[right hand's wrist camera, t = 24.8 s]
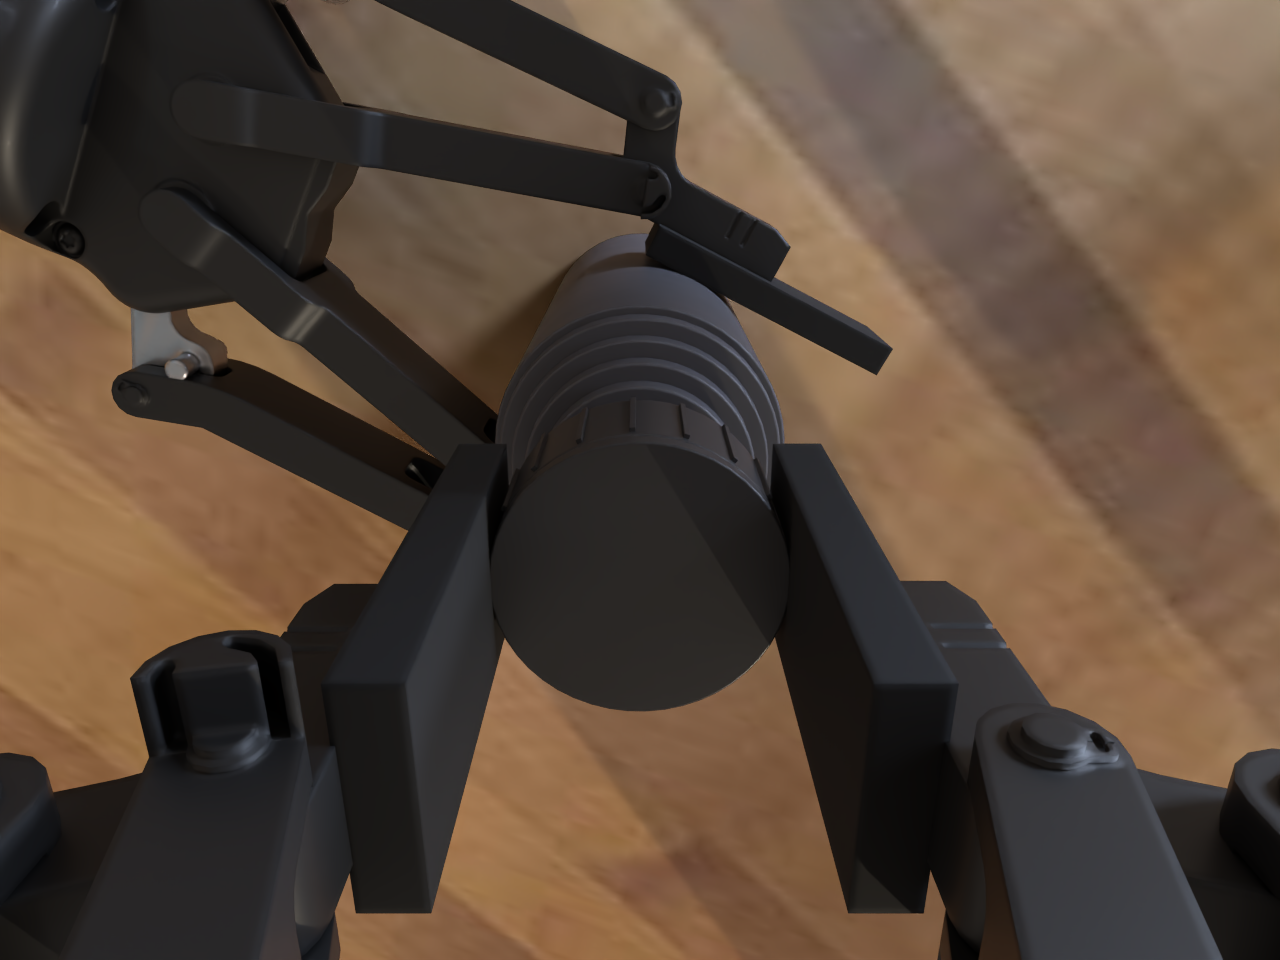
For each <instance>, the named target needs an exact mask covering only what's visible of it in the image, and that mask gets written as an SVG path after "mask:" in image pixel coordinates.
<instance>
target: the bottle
mask: <svg viewBox="0 0 1280 960" xmlns="http://www.w3.org/2000/svg"><path fill="white" fill-rule="evenodd" d="M648 235H649V234H629V235H622V236H618V237H615V238H611V239H608V240H606V241H604V242H602V243H599V244H598V245H596V246H594V247H593V248H591V249H590V250H588V251H587V252H586V253H584V254H583V255H582V256H581V257H580V258H579V259H578V260H577V261H576V262H575V263H574V264H573V265H572V266H571V268H570V269H569V271H568V272H567V273H566V275H565V276H564V278H563V280H562V282H561V284H560V286H559V288H558V290H557V292H556V294H555V296H554V298H553V300H552V302H551V303H550V305H549V307H548V309H547V311H546V313H545V315H544V317H543V319H542V321H541V323H540V325H539V327H538V329H537V331H536V332H535V334H534V336H533V338H532V340H531V342H530V344H529V346H528V348H527V350H526V352H525V354H524V356H523V358H522V360H521V362H520V363H519V365H518V367H517V369H516V371H515V373H514V375H513V377H512V379H511V381H510V383H509V385H508V387H507V389H506V391H505V394H504V397H503V399H502V402H501V405H500V409H499V414H498V419H497V424H496V437H495V444H507V458H508V475H509V485H510V482H511V480H512V477H513V474H514V472H515V470H516V468H517V469H520V468H521V467H522V465H523V463H524V462H525V460H526V458H527V457H528V455H529V454H530V453H531V451H532V450H533V449H534V448H535V446H536V445H537V444H538V443H539V442H540V438H541V435H542V434H543V433H544V432H546V433H547V434H548V433H549V432H550V431H552V430H553V429H554V428H556V427H557V426H559V425H560V424H561V423H563V422H564V421H566V420H568V419H570V418H571V417H573V416H575V415H577V414H579V413H581V411H582V408H585V407H587V408H588V410H589V409H591V408H594V407H597V406H600V405H604V404H609V403H613V402H619V401H628V400H630V397H636V400H653V401H660V402H667V403H672V404H675V405H679V404H680V403H683V404H685V406H686V408H689V409H691V410H693V411H696V412H698V413H701V414H703V415H705V416H707V417H708V418H710V419H712V420H713V421H715V422H717V423H718V424H720V425H721V426H723V425H724V424H725V425H727V426H728V427H729V431H730V433H731V434H733V435H734V436H735V437H736V438H737V439H738V441H739V442H740V443H741V444H742V445H743V446H744V447H745V448H746V449H747V451H748V452H749V453H750V455H751V456H752V458H753V459H755V458H758V460H759V462H760V464H761V467H762V470H763V473H764V475H765V478H766V481H767V484H768V486H769V489H770V485H771V467H772V450H773V444H784V428H783V419H782V415H781V411H780V406H779V403H778V400H777V397H776V395H775V392H774V390H773V387H772V385H771V383H770V381H769V379H768V377H767V375H766V373H765V371H764V369H763V367H762V365H761V364H760V362H759V360H758V358H757V356H756V354H755V352H754V350H753V348H752V346H751V344H750V342H749V340H748V338H747V336H746V334H745V333H744V331H743V329H742V327H741V325H740V323H739V321H738V319H737V317H736V315H735V313H734V311H733V309H732V307H731V305H730V303H729V302H728V300H727V298H726V297H725V296H723V295H721V294H719V293H717V292H716V291H714V290H712V289H710V288H708V287H706V286H704V285H702V284H700V283H698V282H696V281H695V280H693V279H691V278H689V277H687V276H685V275H683V274H681V273H679V272H677V271H675V270H673V269H671V268H669V267H667V266H666V265H664V264H662V263H660V262H658V261H656V260H654V259H652V258H650V257H648V256H646V253H645V241H646V239H647V237H648Z"/></svg>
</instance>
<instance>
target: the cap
mask: <svg viewBox="0 0 1280 960" xmlns="http://www.w3.org/2000/svg"><path fill="white" fill-rule="evenodd" d="M501 510H502V511H504V512H503V515H502V518H501V521H500V523H499V526H498V529H497V532H496V535H495V537H494V541H493V545H492V549H491V553H490V578H491V593H492V606H493V611H494V614H495V617H496V619H497V622H498V625H499V627H500V629H501V631H502V633H503V635H504V637H505V638H506V640H507V642H508V643H509V645H510V646H511V648H512V649H513V650H514V652H515V653H516V655H517V656H518V657H519V658H520V659H521V660H522V661H523V662H524V664H525V665H526V666H527V667H528V668H529V669H530V670H531V671H533V672H534V673H535V674H536V675H537V676H539V677H540V678H541V679H542V680H543V681H545V682H546V683H548V684H550V685H551V686H553V687H554V688H556V689H557V690H559V691H561V692H563V693H565V694H567V695H569V696H571V697H573V698H575V699H578V700H581V701H584V702H586V703H589V704H592V705H596V706H600V707H604V708H609V709H616V710H624V711H655V710H665V709H670V708H675V707H680V706H684V705H687V704H690V703H693V702H696V701H699V700H702V699H704V698H706V697H708V696H711V695H713V694H715V693H717V692H719V691H720V690H722V689H724V688H725V687H727V686H729V685H730V684H732V683H733V682H735V681H736V680H737V679H738V678H740V677H741V676H742V675H743V674H745V673H746V672H747V671H748V670H749V669H750V668H751V667H752V666H753V665H754V664H755V663H756V662H757V661H758V660H759V659H760V658H761V656H762V655H763V654H764V652H765V651H766V650H767V648H768V647H769V646H770V644H771V643H772V641H773V639H774V637H775V636H776V634H777V632H778V630H779V628H780V626H781V623H782V621H783V618H784V616H785V613H786V609H787V600H788V586H789V571H790V556H789V551H788V546H787V542H786V538H785V535H784V532H783V529H782V527H781V524H780V521H779V518H778V515H777V513H776V510H775V507H774V504H773V501H772V495H771V492H770V489H769V486H768V484H767V481H766V478H765V475H764V473H763V470H762V467H761V464H760V462H759V460H758V458H755V459H753V458H752V456H751V455H750V453H749V452H748V451H747V449H746V448H745V447H744V446H743V445H742V444H741V443H740V442H739V441H738V439H737V438H736V437H735V436H734V435H733V434H731V433H730V431H729V427H728V426H727V425H725V424H724V425H723V426H721V425H720V424H718V423H717V422H715V421H713V420H712V419H710V418H708V417H707V416H705V415H703V414H701V413H698V412H696V411H693V410H691V409H689V408H686V406H685V404H683V403H680V404H679V405H675V404H672V403H667V402H660V401H653V400H636V397H630V400H628V401H619V402H613V403H609V404H604V405H600V406H597V407H594V408H591V409H589V410H588V408H587V407H585V408H582V411H581V413H579V414H577V415H575V416H573V417H571V418H570V419H568V420H566V421H564V422H563V423H561V424H560V425H559V426H557V427H556V428H554V429H553V430H552V431H550V432H549V433H548V434H547V433H546V432H544V433H543V434H542V435H541V438H540V442H539V443H538V444H537V445H536V446H535V448H534V449H533V450H532V451H531V453H530V454H529V455H528V457H527V458H526V460H525V462H524V463H523V465H522V467H521V468H520V469H517V468H516V470H515V472H514V474H513V477H512V480H511V482H510V485H509V488H508V491H507V493H506V496H505V499H504V502H503V504H502V507H501Z"/></svg>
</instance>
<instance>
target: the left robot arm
mask: <svg viewBox="0 0 1280 960" xmlns="http://www.w3.org/2000/svg"><path fill="white" fill-rule="evenodd" d="M287 1H288V0H0V229H1V230H3V231H5V232H7V233H9V234H11V235H14V236H16V237H18V238H20V239H22V240H24V241H27V242H29V243H31V244H34V245H36V246H39V247H41V248H44V249H46V250H49V251H51V252H54V253H57V254H59V255H62V256H65V257H67V258H70V259H72V260H74V261H76V262H78V263H80V264H81V265H83V266H84V267H85V268H87V269H88V270H89V271H91V272H92V273H93V274H94V275H95V276H96V277H97V278H98V279H99V280H100V281H101V282H102V283H103V284H104V285H105V286H106V288H107V289H108V290H109V291H110V292H111V293H112V295H113V296H115V297H116V298H117V299H118V300H119V301H121V302H122V303H124V304H125V305H127V306H129V307H131V330H132V364H133V366H132V369H131V370H129V371H127V372H125V373H123V374H121V375H118V376H117V378H116V379H115V380H114V382H113V385H112V390H111V391H112V395H113V399H114V401H115V402H116V404H117V405H118V407H119V408H120V409H122V410H123V411H124V412H126V413H127V414H129V415H132V416H135V417H140V418H146V419H152V420H158V421H165V422H171V423H177V424H183V425H189V426H195V427H201V428H204V429H206V430H208V431H210V432H212V433H214V434H216V435H218V436H220V437H222V438H224V439H226V440H228V441H230V442H232V443H234V444H236V445H238V446H240V447H242V448H244V449H246V450H248V451H250V452H252V453H254V454H256V455H258V456H260V457H262V458H264V459H266V460H268V461H270V462H272V463H274V464H276V465H278V466H280V467H282V468H284V469H286V470H288V471H290V472H292V473H294V474H296V475H298V476H300V477H302V478H304V479H306V480H308V481H310V482H312V483H314V484H316V485H318V486H320V487H322V488H324V489H326V490H328V491H330V492H332V493H334V494H336V495H338V496H340V497H342V498H344V499H346V500H348V501H350V502H352V503H354V504H356V505H358V506H360V507H362V508H364V509H366V510H368V511H370V512H372V513H374V514H376V515H378V516H380V517H382V518H384V519H386V520H388V521H390V522H392V523H394V524H396V525H398V526H400V527H402V528H404V529H406V530H408V531H409V529H410V528H411V526H412V524H413V522H414V521H415V519H416V517H417V515H418V514H419V512H420V510H421V508H422V507H423V505H424V503H425V501H426V500H427V498H428V496H429V495H430V493H431V491H432V489H433V488H434V486H435V484H436V482H437V481H438V479H439V477H440V475H441V474H442V472H443V470H444V468H445V467H446V465H447V463H448V462H449V460H450V458H451V456H452V455H453V453H454V451H455V449H456V448H457V446H458V444H495V437H496V424H497V419H498V415H497V414H496V413H495V412H494V411H493V410H491V409H490V408H489V407H488V406H487V405H486V404H485V403H483V402H482V401H481V400H480V399H479V398H478V397H477V396H475V395H474V394H473V393H472V392H471V391H470V390H468V389H467V388H466V387H465V386H464V385H463V384H462V383H460V382H459V381H458V380H457V379H456V378H455V377H454V376H452V375H451V374H450V373H449V372H448V371H447V370H445V369H444V368H443V367H442V366H441V365H440V364H439V363H437V362H436V361H435V360H434V359H433V358H432V357H431V356H429V355H428V354H427V353H426V352H425V351H424V350H423V349H421V348H420V347H419V346H418V345H417V344H416V343H414V342H413V341H412V340H411V339H410V338H409V337H408V336H406V335H405V334H404V333H403V332H402V331H401V330H400V329H398V328H397V327H396V326H395V325H394V324H393V323H391V322H390V321H389V320H388V319H387V318H386V317H385V316H383V315H382V314H381V313H380V312H379V311H378V310H377V309H375V308H374V307H373V306H372V305H371V304H370V303H369V302H367V301H366V300H365V299H364V298H363V297H362V296H361V295H360V294H358V292H357V291H356V290H355V287H354V285H353V283H352V281H351V280H350V279H349V278H348V277H347V276H346V275H345V274H344V273H343V272H342V271H341V270H340V269H338V268H337V267H336V266H335V265H334V264H333V263H332V262H330V261H329V260H328V259H327V258H326V257H325V256H326V254H327V251H328V248H329V246H330V243H331V240H332V228H333V216H334V209H335V207H336V205H337V204H338V203H339V201H340V200H341V199H342V197H343V196H344V195H345V193H346V192H347V191H348V189H349V188H350V187H351V185H352V184H353V181H354V178H355V176H356V173H357V170H358V167H359V166H361V167H370V168H379V169H386V170H391V171H397V172H402V173H408V174H413V175H419V176H424V177H430V178H435V179H441V180H446V181H451V182H457V183H462V184H468V185H473V186H479V187H484V188H490V189H495V190H500V191H506V192H511V193H517V194H522V195H528V196H533V197H539V198H544V199H550V200H555V201H560V202H566V203H571V204H577V205H582V206H588V207H593V208H599V209H604V210H609V211H615V212H620V213H626V214H631V215H637V216H641V219H648V220H650V221H652V222H654V225H653V227H652V229H651V231H650V233H649V235H648V237H647V239H646V241H645V253H646V256H648V257H650V258H652V259H654V260H656V261H658V262H660V263H662V264H664V265H666V266H667V267H669V268H671V269H673V270H675V271H677V272H679V273H681V274H683V275H685V276H687V277H689V278H691V279H693V280H695V281H696V282H698V283H700V284H702V285H704V286H706V287H708V288H710V289H712V290H714V291H716V292H717V293H719V294H721V295H723V296H725V297H727V298H729V299H731V300H733V301H735V302H737V303H739V304H741V305H743V306H744V307H746V308H748V309H750V310H752V311H754V312H756V313H758V314H760V315H762V316H764V317H766V318H768V319H769V320H771V321H773V322H775V323H777V324H779V325H781V326H783V327H785V328H787V329H789V330H791V331H793V332H794V333H796V334H798V335H800V336H802V337H804V338H806V339H808V340H810V341H812V342H814V343H816V344H818V345H819V346H821V347H823V348H825V349H827V350H829V351H831V352H833V353H835V354H837V355H839V356H841V357H843V358H844V359H846V360H848V361H850V362H852V363H854V364H856V365H858V366H860V367H862V368H864V369H866V370H868V371H870V372H871V373H873V374H875V375H877V374H878V372H879V371H880V369H881V367H882V366H883V364H884V362H885V361H886V359H887V358H888V356H889V354H890V353H891V351H892V350H893V349H892V348H891V347H890V346H889V345H888V344H887V343H885V342H884V341H883V340H882V339H881V338H880V337H879V336H877V335H876V334H875V333H874V332H873V331H872V330H870V329H869V328H868V327H867V326H865V325H863V324H861V323H859V322H857V321H856V320H854V319H852V318H850V317H848V316H846V315H844V314H842V313H840V312H839V311H837V310H835V309H833V308H831V307H829V306H827V305H825V304H823V303H822V302H820V301H818V300H816V299H814V298H812V297H810V296H808V295H806V294H805V293H803V292H801V291H799V290H797V289H795V288H793V287H791V286H789V285H788V284H786V283H784V282H782V281H780V280H778V279H776V278H774V276H775V274H776V273H777V271H778V269H779V267H780V265H781V264H782V262H783V260H784V258H785V256H786V255H787V253H788V251H789V249H790V246H789V244H788V243H787V242H786V241H785V239H784V238H783V237H782V236H781V234H780V233H779V232H778V231H777V230H776V229H775V228H774V227H772V226H771V225H769V224H768V223H766V222H764V221H762V220H760V219H758V218H757V217H755V216H753V215H751V214H749V213H747V212H745V211H744V210H742V209H740V208H738V207H736V206H734V205H733V204H731V203H729V202H727V201H725V200H723V199H721V198H720V197H718V196H716V195H714V194H712V193H710V192H708V191H707V190H705V189H703V188H701V187H699V186H697V185H695V184H694V183H692V182H690V181H689V180H687V179H686V178H684V176H683V175H682V174H681V172H680V170H679V168H678V166H677V162H676V158H675V149H676V141H677V133H678V125H679V117H680V110H681V105H682V100H681V93H680V90H679V89H678V87H677V85H676V83H675V82H674V81H672V80H671V79H670V78H669V77H667V76H666V75H664V74H662V73H660V72H657V71H655V70H653V69H651V68H649V67H647V66H645V65H643V64H641V63H639V62H637V61H635V60H633V59H631V58H629V57H627V56H624V55H622V54H620V53H618V52H616V51H614V50H612V49H610V48H608V47H606V46H604V45H602V44H600V43H598V42H596V41H594V40H591V39H589V38H587V37H585V36H583V35H581V34H579V33H577V32H575V31H573V30H571V29H569V28H567V27H565V26H563V25H561V24H558V23H556V22H554V21H552V20H550V19H548V18H546V17H544V16H542V15H540V14H538V13H536V12H534V11H532V10H530V9H528V8H526V7H523V6H521V5H519V4H517V3H515V2H513V1H511V0H375V1H377V2H379V3H381V4H383V5H385V6H387V7H389V8H391V9H393V10H395V11H397V12H399V13H401V14H403V15H405V16H408V17H410V18H412V19H414V20H416V21H418V22H420V23H422V24H424V25H427V26H429V27H431V28H433V29H435V30H437V31H439V32H441V33H443V34H446V35H448V36H450V37H452V38H454V39H456V40H458V41H460V42H462V43H465V44H467V45H469V46H471V47H473V48H475V49H477V50H479V51H481V52H484V53H486V54H488V55H490V56H492V57H494V58H496V59H498V60H500V61H503V62H505V63H507V64H509V65H511V66H513V67H515V68H517V69H519V70H522V71H524V72H526V73H528V74H530V75H532V76H534V77H536V78H538V79H541V80H543V81H545V82H547V83H549V84H551V85H553V86H555V87H557V88H560V89H562V90H564V91H566V92H568V93H570V94H572V95H574V96H577V97H579V98H581V99H583V100H585V101H587V102H589V103H591V104H593V105H596V106H598V107H600V108H602V109H604V110H606V111H608V112H610V113H612V114H615V115H617V116H619V117H621V118H623V119H625V120H627V128H626V137H625V146H624V155H619V154H614V153H609V152H603V151H598V150H593V149H587V148H582V147H577V146H571V145H566V144H561V143H555V142H550V141H545V140H539V139H534V138H529V137H523V136H518V135H513V134H507V133H502V132H497V131H491V130H486V129H481V128H475V127H470V126H465V125H459V124H454V123H449V122H443V121H438V120H433V119H427V118H422V117H417V116H411V115H407V114H403V113H398V112H393V111H388V110H382V109H377V108H372V107H366V106H361V105H356V104H350V103H345V102H342V101H341V99H340V98H339V96H338V94H337V92H336V91H335V89H334V87H333V86H332V84H331V82H330V81H329V79H328V77H327V75H326V74H325V72H324V70H323V69H322V67H321V65H320V63H319V62H318V60H317V58H316V57H315V55H314V53H313V52H312V50H311V48H310V46H309V45H308V43H307V41H306V40H305V38H304V36H303V34H302V33H301V31H300V29H299V28H298V26H297V24H296V23H295V21H294V19H293V17H292V16H291V14H290V12H289V11H288V9H287V7H286V5H285V3H286V2H287ZM322 1H324V2H327V3H330V4H335V5H336V4H343V3H345V2H347V1H349V0H322ZM233 301H236V302H237V303H238V304H239V305H240V306H242V307H243V308H244V309H245V310H246V311H248V312H249V313H250V314H251V315H252V316H254V317H255V318H256V319H257V320H258V321H260V322H261V323H262V324H263V325H264V326H266V327H267V328H268V329H269V330H270V331H272V332H273V333H275V334H276V335H277V336H279V337H281V338H283V339H285V340H289V341H292V342H296V343H298V344H299V345H301V346H302V347H304V348H305V349H306V350H307V351H308V352H310V353H311V354H312V355H313V356H314V357H316V358H317V359H318V360H319V361H320V362H322V363H323V364H324V365H325V366H326V367H328V368H329V369H330V370H331V371H332V372H334V373H335V374H336V375H337V376H338V377H340V378H341V379H342V380H343V381H344V382H346V383H347V384H348V385H349V386H350V387H351V388H353V389H354V390H355V391H356V392H357V393H359V394H360V395H361V396H362V397H363V398H365V399H366V400H367V401H368V402H369V403H371V404H372V405H373V406H374V407H375V408H377V409H378V410H379V411H380V412H381V413H383V414H384V415H385V416H386V417H387V418H389V419H390V420H391V421H392V422H393V423H395V424H396V425H397V426H398V427H399V428H401V429H402V430H403V431H404V432H405V433H407V434H408V435H409V436H410V437H411V438H413V439H414V440H415V441H416V442H417V443H419V444H420V445H421V446H422V447H423V448H425V449H426V450H427V451H428V452H429V453H431V454H432V455H433V456H434V457H435V458H434V457H432V456H430V455H428V454H426V453H424V452H422V451H420V450H418V449H416V448H414V447H412V446H411V445H409V444H407V443H405V442H403V441H401V440H399V439H397V438H395V437H393V436H391V435H389V434H387V433H386V432H384V431H382V430H380V429H378V428H376V427H374V426H372V425H370V424H368V423H366V422H364V421H362V420H360V419H359V418H357V417H355V416H353V415H351V414H349V413H347V412H345V411H343V410H341V409H339V408H337V407H335V406H334V405H332V404H330V403H328V402H326V401H324V400H322V399H320V398H318V397H316V396H314V395H312V394H310V393H309V392H307V391H305V390H303V389H301V388H299V387H297V386H295V385H293V384H291V383H289V382H287V381H285V380H284V379H282V378H280V377H278V376H276V375H274V374H272V373H270V372H267V371H265V370H263V369H261V368H259V367H256V366H253V365H250V364H247V363H244V362H241V361H237V360H233V359H229V358H227V347H226V346H225V344H224V343H223V342H222V341H220V340H217V339H216V338H214V337H212V336H210V335H208V334H205V333H203V332H201V331H200V330H198V329H197V328H196V327H195V326H194V325H193V323H192V322H191V321H190V318H189V316H188V313H187V309H191V308H197V307H203V306H209V305H215V304H221V303H227V302H233ZM437 459H438V460H437Z"/></svg>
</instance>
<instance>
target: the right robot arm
mask: <svg viewBox="0 0 1280 960" xmlns="http://www.w3.org/2000/svg"><path fill="white" fill-rule="evenodd" d="M508 488H509V475H508V458H507V444H458V446H457V448H456V449H455V451H454V453H453V455H452V456H451V458H450V460H449V462H448V463H447V465H446V467H445V468H444V470H443V472H442V474H441V475H440V477H439V479H438V481H437V482H436V484H435V486H434V488H433V489H432V491H431V493H430V495H429V496H428V498H427V500H426V501H425V503H424V505H423V507H422V508H421V510H420V512H419V514H418V515H417V517H416V519H415V521H414V522H413V524H412V526H411V528H410V529H409V531H408V533H407V534H406V536H405V538H404V540H403V541H402V543H401V545H400V547H399V548H398V550H397V552H396V554H395V555H394V557H393V559H392V561H391V562H390V564H389V566H388V567H387V569H386V571H385V573H384V574H383V576H382V578H381V580H380V581H379V583H378V584H333V585H332V586H330V587H329V588H327V589H326V590H324V591H323V592H321V593H320V594H318V595H317V596H315V597H314V598H312V599H311V600H309V601H308V602H306V603H305V604H304V605H303V606H302V607H301V609H300V610H299V612H298V613H297V614H296V616H295V617H294V619H293V620H292V622H291V623H290V624H289V626H288V630H287V632H284V633H283V634H282V636H281V637H279V636H277V635H273V634H269V633H265V632H261V631H257V630H229V631H223V632H218V633H213V634H207V635H202V636H198V637H195V638H192V639H189V640H187V641H184V642H181V643H179V644H176V645H173V646H171V647H168V648H167V649H165V650H163V651H162V652H160V653H158V654H157V655H155V656H154V657H152V658H150V659H149V660H147V661H145V662H144V663H143V664H142V666H141V667H140V668H139V669H138V670H137V671H136V672H135V673H134V674H133V676H132V677H131V678H130V680H131V684H132V688H133V692H134V697H135V701H136V705H137V709H138V713H139V717H140V721H141V725H142V729H143V733H144V737H145V741H146V745H147V750H148V754H149V759H148V761H147V763H146V766H145V768H144V770H143V772H142V773H139V774H136V775H132V776H128V777H125V778H121V779H117V780H112V781H107V782H102V783H97V784H92V785H87V786H83V787H78V788H73V789H68V790H63V791H58V792H53V790H52V787H51V784H50V780H49V777H48V774H47V770H46V768H45V767H44V766H43V765H42V764H41V763H39V762H38V761H37V760H36V759H35V758H33V757H31V756H25V755H19V754H13V753H0V960H339V958H340V943H339V936H338V929H337V923H336V917H335V909H336V906H337V904H338V901H339V899H340V896H341V894H342V891H343V888H344V886H345V883H346V881H347V878H348V876H349V873H350V878H351V884H352V891H353V897H354V904H355V910H356V913H431V912H432V908H433V905H434V901H435V897H436V893H437V890H438V886H439V882H440V878H441V875H442V871H443V867H444V863H445V860H446V856H447V852H448V848H449V844H450V841H451V837H452V833H453V829H454V826H455V822H456V818H457V814H458V811H459V807H460V803H461V799H462V796H463V792H464V788H465V784H466V781H467V777H468V773H469V769H470V765H471V762H472V758H473V754H474V750H475V747H476V743H477V739H478V735H479V732H480V728H481V724H482V720H483V717H484V713H485V709H486V705H487V702H488V698H489V694H490V690H491V686H492V683H493V679H494V675H495V671H496V668H497V664H498V660H499V656H500V653H501V649H502V645H503V641H504V638H505V637H504V635H503V633H502V631H501V629H500V627H499V625H498V622H497V619H496V617H495V614H494V611H493V606H492V593H491V578H490V553H491V549H492V545H493V541H494V537H495V535H496V532H497V529H498V526H499V523H500V521H501V518H502V515H503V512H504V511H502V510H501V507H502V504H503V502H504V499H505V496H506V493H507V491H508ZM770 492H771V495H772V501H773V504H774V507H775V510H776V513H777V515H778V518H779V521H780V524H781V527H782V529H783V532H784V535H785V538H786V542H787V546H788V551H789V556H790V571H789V586H788V600H787V609H786V613H785V616H784V618H783V621H782V623H781V626H780V628H779V630H778V632H777V634H776V636H775V639H776V643H777V647H778V650H779V654H780V658H781V662H782V666H783V669H784V673H785V677H786V681H787V684H788V688H789V692H790V696H791V699H792V703H793V707H794V711H795V714H796V718H797V722H798V726H799V729H800V733H801V737H802V741H803V745H804V748H805V752H806V756H807V760H808V763H809V767H810V771H811V775H812V778H813V782H814V786H815V790H816V793H817V797H818V801H819V805H820V809H821V812H822V816H823V820H824V824H825V827H826V831H827V835H828V839H829V842H830V846H831V850H832V854H833V857H834V861H835V865H836V869H837V872H838V876H839V880H840V884H841V888H842V891H843V895H844V899H845V903H846V906H847V910H848V913H924V908H925V901H926V895H927V888H928V882H929V875H930V870H931V872H932V875H933V877H934V880H935V882H936V885H937V888H938V890H939V893H940V895H941V898H942V900H943V903H944V905H945V908H946V911H945V917H944V923H943V929H942V935H941V941H940V947H939V953H938V959H937V960H1280V749H1267V750H1261V751H1255V752H1249V753H1247V754H1246V755H1245V756H1244V757H1242V758H1241V759H1240V760H1239V761H1238V762H1236V763H1235V765H1234V768H1233V772H1232V775H1231V779H1230V782H1229V785H1228V789H1226V788H1222V787H1217V786H1212V785H1207V784H1202V783H1197V782H1192V781H1187V780H1182V779H1178V778H1173V777H1168V776H1163V775H1159V774H1155V773H1151V772H1148V771H1144V770H1140V769H1137V768H1136V766H1135V764H1134V762H1133V760H1132V757H1131V756H1130V754H1129V753H1128V752H1127V750H1126V749H1125V748H1124V746H1123V745H1122V744H1121V742H1120V741H1119V740H1118V738H1117V737H1115V736H1114V735H1112V734H1111V733H1110V732H1108V731H1107V730H1105V729H1104V728H1103V727H1101V726H1100V725H1098V724H1097V723H1096V722H1094V721H1092V720H1089V719H1087V718H1085V717H1082V716H1080V715H1078V714H1075V713H1073V712H1071V711H1068V710H1065V709H1061V708H1056V707H1052V706H1051V705H1050V704H1049V703H1048V701H1047V700H1046V698H1045V697H1044V696H1043V694H1042V693H1041V691H1040V690H1039V689H1038V687H1037V686H1036V684H1035V683H1034V682H1033V680H1032V679H1031V677H1030V676H1029V675H1028V673H1027V672H1026V670H1025V669H1024V668H1023V666H1022V665H1021V663H1020V662H1019V661H1018V659H1017V658H1016V656H1015V655H1014V654H1013V652H1012V651H1011V649H1010V648H1006V642H1005V641H1004V639H1003V638H1002V637H1001V635H1000V634H999V632H998V631H997V630H996V629H993V627H992V623H991V621H990V620H989V618H988V617H987V616H986V614H985V613H984V611H983V610H982V609H981V607H980V606H979V604H978V603H977V602H976V601H975V600H974V599H972V598H971V597H969V596H968V595H966V594H965V593H963V592H962V591H960V590H959V589H957V588H956V587H954V586H952V585H951V584H949V583H948V582H946V581H900V580H899V579H898V577H897V575H896V573H895V572H894V570H893V568H892V567H891V565H890V563H889V561H888V560H887V558H886V556H885V554H884V553H883V551H882V549H881V547H880V546H879V544H878V542H877V540H876V539H875V537H874V535H873V534H872V532H871V530H870V528H869V527H868V525H867V523H866V521H865V520H864V518H863V516H862V514H861V513H860V511H859V509H858V507H857V506H856V504H855V502H854V501H853V499H852V497H851V495H850V494H849V492H848V490H847V488H846V487H845V485H844V483H843V481H842V480H841V478H840V476H839V474H838V473H837V471H836V469H835V468H834V466H833V464H832V462H831V461H830V459H829V457H828V455H827V454H826V452H825V450H824V448H823V447H822V445H821V444H773V450H772V467H771V485H770Z"/></svg>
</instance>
